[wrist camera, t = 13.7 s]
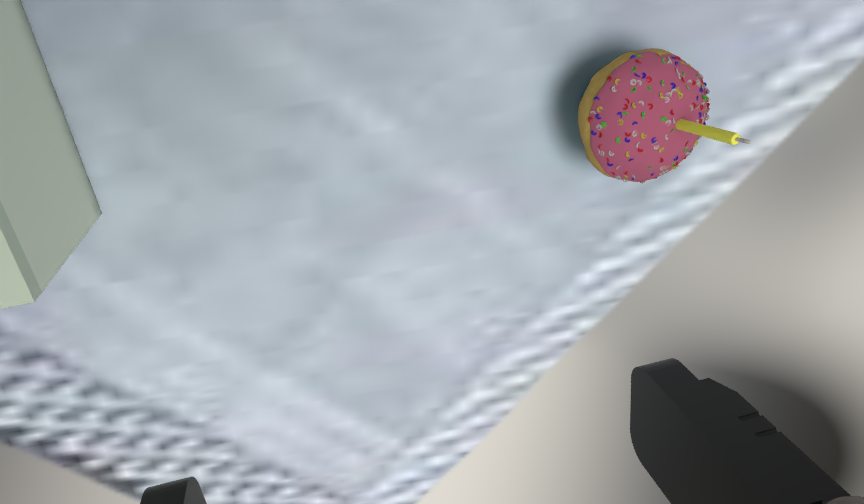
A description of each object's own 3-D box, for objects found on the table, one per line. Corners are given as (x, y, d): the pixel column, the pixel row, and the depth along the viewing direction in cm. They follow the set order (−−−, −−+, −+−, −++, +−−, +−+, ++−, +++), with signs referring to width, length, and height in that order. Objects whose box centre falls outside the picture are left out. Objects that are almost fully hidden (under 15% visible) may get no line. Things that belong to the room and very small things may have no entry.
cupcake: (669, 36, 43) (799, 56, 32) (660, 155, 47) (773, 208, 36) (554, 49, 42) (648, 74, 31) (553, 170, 45) (637, 231, 34)
